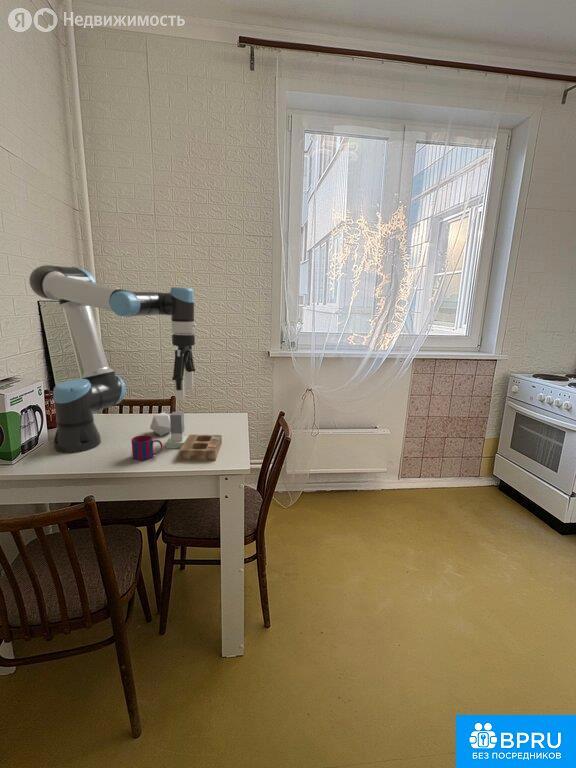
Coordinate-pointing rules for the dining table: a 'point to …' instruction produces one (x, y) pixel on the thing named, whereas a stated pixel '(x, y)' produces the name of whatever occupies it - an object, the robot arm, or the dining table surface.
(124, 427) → the dining table surface
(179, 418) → the plug
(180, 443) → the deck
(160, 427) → the die
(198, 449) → the socket block
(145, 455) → the mug
